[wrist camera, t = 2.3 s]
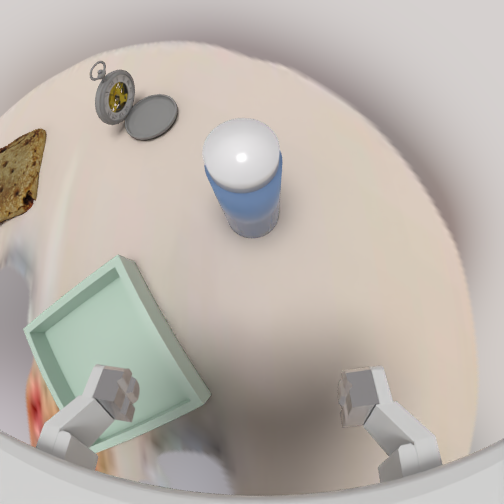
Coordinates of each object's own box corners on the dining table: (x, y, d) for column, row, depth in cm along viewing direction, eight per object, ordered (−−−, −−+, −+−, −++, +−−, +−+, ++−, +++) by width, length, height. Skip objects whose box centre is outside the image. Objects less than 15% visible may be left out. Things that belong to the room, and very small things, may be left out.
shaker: (289, 219, 28) (299, 158, 17) (244, 248, 28) (226, 202, 16) (260, 180, 30) (253, 104, 18) (217, 206, 29) (185, 141, 17)
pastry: (6, 257, 30) (-8, 253, 28) (-27, 202, 33) (-38, 196, 30) (72, 150, 33) (60, 140, 30) (26, 117, 36) (17, 108, 33)
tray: (211, 394, 26) (203, 404, 22) (103, 445, 25) (87, 455, 21) (134, 261, 29) (118, 254, 25) (42, 328, 28) (23, 328, 24)
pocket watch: (182, 130, 31) (155, 71, 22) (116, 155, 31) (73, 108, 22) (173, 84, 33) (149, 28, 23) (114, 107, 33) (80, 59, 23)
